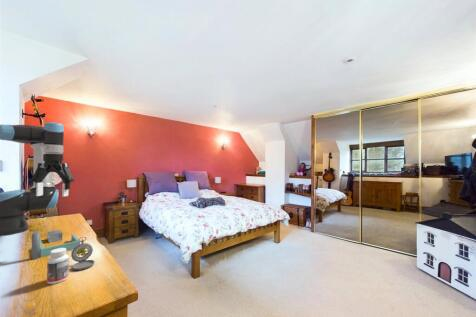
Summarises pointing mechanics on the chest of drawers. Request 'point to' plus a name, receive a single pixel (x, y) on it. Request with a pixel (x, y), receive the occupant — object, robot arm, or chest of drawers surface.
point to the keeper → (41, 251)
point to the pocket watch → (82, 260)
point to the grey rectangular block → (54, 236)
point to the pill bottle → (57, 266)
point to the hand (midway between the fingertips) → (52, 196)
